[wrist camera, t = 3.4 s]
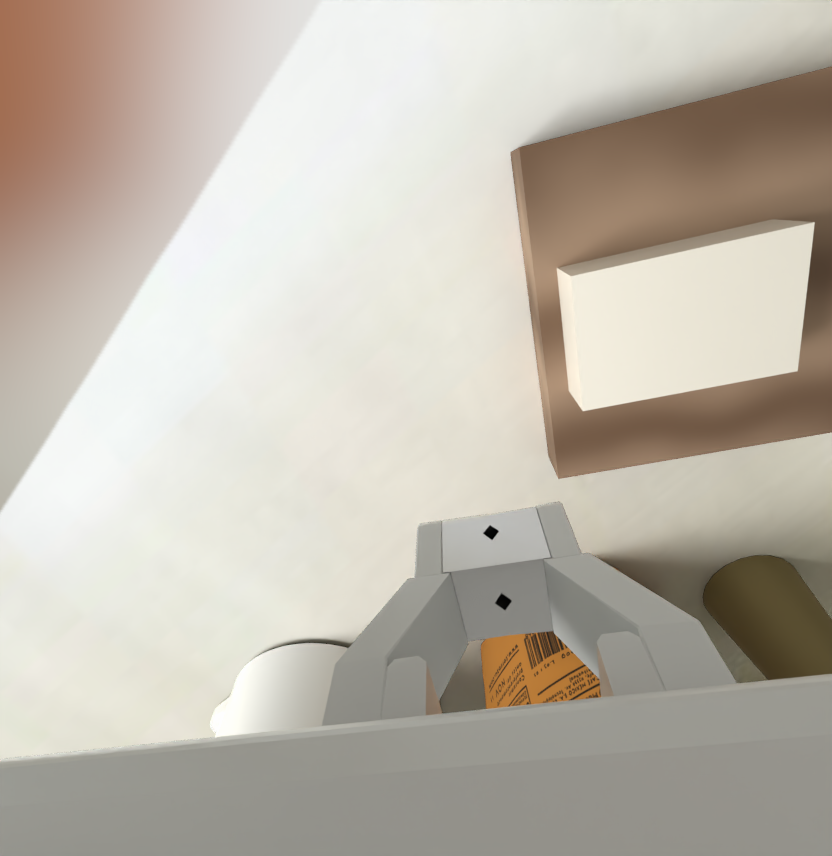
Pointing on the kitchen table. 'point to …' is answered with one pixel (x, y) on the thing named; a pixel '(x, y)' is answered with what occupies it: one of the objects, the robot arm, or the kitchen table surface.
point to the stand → (671, 221)
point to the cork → (772, 617)
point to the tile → (686, 313)
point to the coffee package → (534, 671)
